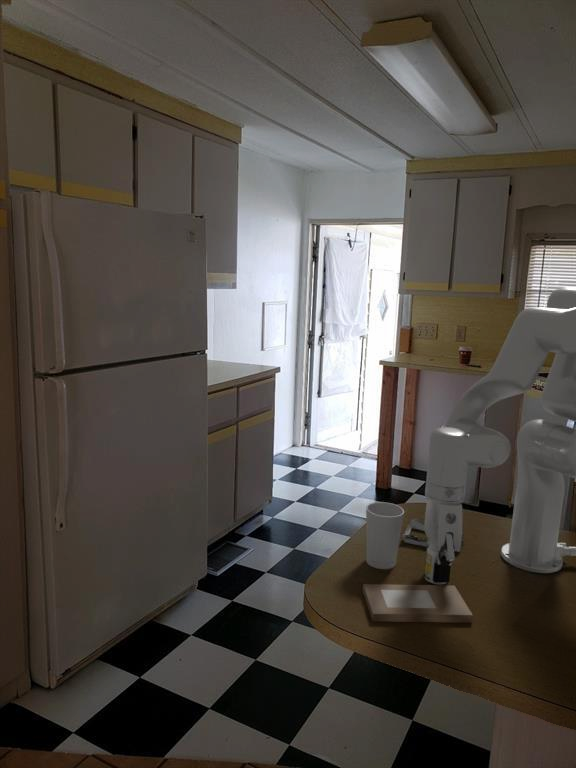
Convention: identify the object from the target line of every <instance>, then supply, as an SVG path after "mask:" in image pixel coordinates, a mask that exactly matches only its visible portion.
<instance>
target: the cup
mask: <svg viewBox="0 0 576 768" xmlns="http://www.w3.org/2000/svg"><path fill="white" fill-rule="evenodd" d="M404 515H405V510H404V509H403V508H402V507H401V506H400V505H398V504H395V503H392V502H391V503H390V502H385V501H376V502H371V503H369V504H367V505H366V507H365V516H366V517H365V518H366V521H365V523H366V527H365V528H366V530H365V532H366V559H365V560H366V563H367V565H369V566H370V567H373V568H374V569H378V570H379V569H380V570H381V569H382V570H390V569H393V568H394V567H395V566H396V565H397V558H398V557H397V555H398V552H399V551H398V550H399V545H400V537H401V532H402V528H403V527H402V526H403V521H404Z"/></svg>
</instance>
